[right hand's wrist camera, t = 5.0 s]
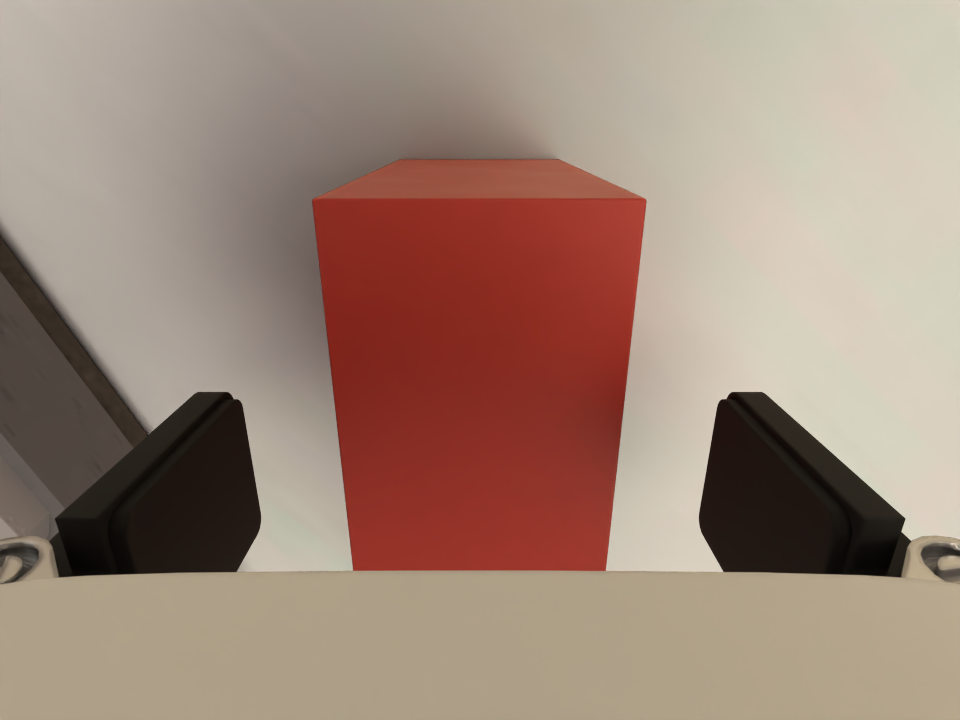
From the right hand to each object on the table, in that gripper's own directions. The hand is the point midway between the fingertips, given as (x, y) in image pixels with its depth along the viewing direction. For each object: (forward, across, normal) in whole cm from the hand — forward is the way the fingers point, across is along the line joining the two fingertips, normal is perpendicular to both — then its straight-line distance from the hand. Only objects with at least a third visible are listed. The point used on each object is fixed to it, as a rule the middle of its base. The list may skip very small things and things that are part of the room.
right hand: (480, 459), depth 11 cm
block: (+12, 0, -1) cm, 12 cm away
